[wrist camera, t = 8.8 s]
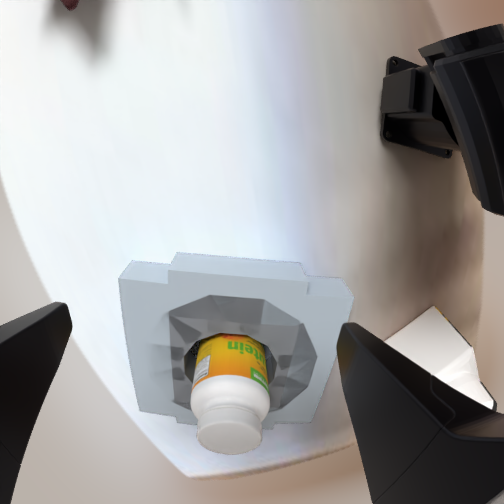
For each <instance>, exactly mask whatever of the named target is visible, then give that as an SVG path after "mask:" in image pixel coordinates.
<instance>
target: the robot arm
mask: <svg viewBox="0 0 504 504" xmlns="http://www.w3.org/2000/svg"><path fill="white" fill-rule="evenodd" d="M418 50H419V52H420V54H421V56H422V58H423V57H424V58H425V60H426V62H427V64H428V65H425V66H419V65H417V64H414V63H412V62H409V61H406V60H404V59H401V58H398V57H395V56H393V57H390V58H389V59H388V60H387V70H386V77H384V78H383V90H382V100H381V111H382V113H383V115H382V123H381V131H380V136H381V138H382V139H383V140H384V141H387V142H391V143H395V144H399V145H403V146H406V147H410V148H413V149H417V150H420V151H424V152H427V153H430V154H433V155H437V156H440V157H443V158H450V157H451V156H452V151H453V150H456V151H461V154H462V157H463V160H464V163H465V166H466V170H467V173H468V177H469V181H470V184H471V188H472V192H473V194H474V195H475V196H476V198H477V199H478V200H479V201H481V205H482V208H484V209H485V210H487V211H490V212H492V213H494V214H496V215H500V216H504V26H503V24H498V25H493V26H489V27H484V28H480V29H477V30H473V31H469V32H466V33H463V34H459V35H456V36H453V37H450V38H447V39H444V40H441V41H438V42H436V43H433V44H430V45H428V46H425V47H422V48H420V49H418ZM392 61H395V63H396V66H395V65H394V64H393V62H392ZM387 131H388V132H389V137H387V136H386V132H387ZM445 150H447V154H445ZM71 331H72V321H71V317H70V313H69V309H68V306H67V304H65V303H61V302H54V303H51V304H49V305H47V306H45V307H43V308H40V309H37V310H35V311H33V312H31V313H28V314H26V315H24V316H21V317H19V318H17V319H15V320H12V321H10V322H8V323H5V324H3V325H1V326H0V504H10V503H11V500H12V496H13V492H14V488H15V484H16V480H17V477H18V473H19V470H20V467H21V465H20V464H21V463H22V460H23V456H24V454H25V450H26V447H27V444H28V441H29V439H30V436H31V433H32V430H33V428H34V425H35V422H36V420H37V417H38V414H39V412H40V409H41V407H42V404H43V402H44V399H45V397H46V395H47V392H48V390H49V388H50V385H51V383H52V381H53V378H54V376H55V374H56V372H57V370H58V367H59V365H60V362H61V359H62V356H63V354H64V350H65V348H66V345H67V342H68V340H69V337H70V334H71ZM336 351H337V357H338V363H339V369H340V375H341V381H342V387H343V392H344V395H345V399H346V403H347V406H348V410H349V413H350V417H351V421H352V424H353V428H354V432H355V435H356V439H357V443H358V446H359V451H360V455H361V458H362V463H363V467H364V471H365V475H366V479H367V483H368V487H369V491H370V495H371V500H372V503H373V504H504V414H501V413H498V412H496V411H494V410H492V409H490V408H488V407H486V406H484V405H482V404H481V403H479V402H477V401H475V400H473V399H472V398H470V397H468V396H466V395H464V394H463V393H461V392H459V391H457V390H456V389H454V388H452V387H451V386H449V385H448V384H446V383H444V382H443V381H441V380H440V379H438V378H437V377H435V376H434V375H431V373H429V372H428V371H427V370H425V369H424V368H422V367H421V366H419V365H418V364H416V363H415V362H413V361H412V360H410V359H409V358H407V357H406V356H404V355H403V354H401V353H400V352H398V351H397V350H395V349H394V348H392V347H391V346H389V345H388V344H386V343H385V342H384V341H382V340H381V339H379V338H378V337H376V336H375V335H373V334H372V333H370V332H369V331H367V330H366V329H364V328H363V327H361V326H360V325H358V324H357V323H354V322H351V323H343V324H342V326H341V329H340V333H339V337H338V340H337V345H336Z"/></svg>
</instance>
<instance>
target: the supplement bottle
mask: <svg viewBox="0 0 504 504" xmlns="http://www.w3.org/2000/svg"><path fill="white" fill-rule="evenodd" d="M190 403H191V409H192V412H193V413H194V415H195V417H196V418H197V419H198V424H197V439H198V441H199V443H200V444H201V445H202V446H203V447H205V448H206V449H208V450H210V451H213V452H216V453H220V454H228V455H235V454H242V453H246V452H249V451H252V450H254V449H255V448H257V447H258V446H259V445H260V443H261V441H262V425H261V422H262V421H263V420H264V419H265V417H266V416H267V414H268V411H269V408H270V396H269V388H268V378H267V369H266V359H265V348H264V344H263V343H261V342H259V341H257V340H255V339H253V338H252V337H250V336H248V335H242V334H229V333H218V334H215V335H212V336H209V337H206V338H204V339H201V340H200V344H199V349H198V355H197V361H196V367H195V373H194V380H193V386H192V392H191V402H190Z"/></svg>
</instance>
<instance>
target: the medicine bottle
mask: <svg viewBox="0 0 504 504" xmlns="http://www.w3.org/2000/svg"><path fill="white" fill-rule="evenodd" d="M384 342H385V343H386V344H388V345H389V346H391V347H392V348H394V349H395V350H397V351H398V352H400V353H401V354H403V355H404V356H406V357H407V358H409V359H410V360H412V361H413V362H415V363H416V364H418V365H419V366H421V367H422V368H424V369H425V370H427V371H428V372H429V373H431V375H434V376H435V377H437V378H438V379H440V380H441V381H443V382H444V383H446V384H448V385H449V386H451V387H452V388H454V389H456V390H457V391H459V392H461V393H463V394H464V395H466V396H468V397H470V398H472V399H473V400H475V401H477V402H479V403H481V404H482V405H484V406H486V407H488V408H490V409H492V410H494V411H496V410H497V403H496V401H495V400H494V398H493V397H492V396H491V394H490V393H489V392H488V390H487V389H486V387H485V386H484V385H483V383H482V382H481V381H480V379H479V375H478V369H477V364H476V359H475V354H474V349H473V347H472V346H471V345H470V344H469V343H468V342H467V340H466V339H465V338H464V337H463V336H462V335H461V334H460V332H459V331H458V330H457V329H456V328H455V327H454V326H453V325H452V324H451V323H450V321H449V320H448V319H447V318H446V317H445V316H444V315H443V314H442V313H441V312H440V311H439V310H438V309H437V308H436V306H432V307H430V308H429V309H428V310H427V311H425V312H424V313H423V314H421V315H420V316H419V317H417V318H416V319H415V320H413V321H412V322H411V323H409V324H408V325H407V326H405V327H404V328H402V329H401V330H400V331H398V332H397V333H396V334H394V335H393V336H391V337H390V338H388V339H387V340H385V341H384Z"/></svg>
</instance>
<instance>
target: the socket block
mask: <svg viewBox="0 0 504 504" xmlns="http://www.w3.org/2000/svg"><path fill="white" fill-rule="evenodd" d="M118 281H119V291H120V300H121V309H122V317H123V324H124V332H125V338H126V345H127V351H128V357H129V362H130V368H131V373H132V378H133V383H134V388H135V393H136V397H137V402H138V406H139V410H140V411H142V412H147V413H153V414H159V415H166V416H173V417H176V420H177V423H182V424H190V425H197V424H198V419H197V418H196V417H195V415H194V413H193V412H192V409H191V403H190V402H191V392H192V386H193V380H194V373H195V367H196V361H197V360H196V358H195V357H194V356H193V354H192V353H191V352H190V350H189V349H190V348H191V347H192V346H193V345H194V343H195V342H196V341H198V340H201V339H204V338H206V337H209V336H212V335H215V334H218V333H229V334H242V335H248V336H250V337H252V338H253V339H255V340H257V341H259V342H261V343H263V344H264V345H266V346H268V347H269V349H270V351H271V356H270V357H269V358H268V359H267V360H266V369H267V378H268V388H269V396H270V408H269V411H268V414H267V416H266V417H265V419H264V420H263V421H262V422H261V425H262V429H273V426H274V424H286V423H311V421H312V418H313V416H314V414H315V411H316V409H317V406H318V404H319V401H320V399H321V396H322V393H323V391H324V388H325V385H326V383H327V380H328V377H329V375H330V372H331V369H332V366H333V363H334V361H335V358H336V355H337V351H336V345H337V340H338V337H339V333H340V329H341V326H342V324H343V323H347V321H348V318H349V314H350V311H351V308H352V304H353V301H354V296H353V295H352V293H351V291H350V290H349V288H348V287H347V285H346V284H345V282H344V281H343V279H342V278H330V277H316V276H306V274H305V272H304V269H303V267H302V265H301V263H296V262H284V261H272V260H260V259H249V258H237V257H225V256H214V255H203V254H191V253H180V252H177V253H176V255H175V257H174V259H173V261H172V263H171V264H162V263H152V262H142V261H131V262H130V264H129V265H128V266H127V267H126V269H125V270H124V271H123V273H122V274H121V275H120V277H119V278H118Z"/></svg>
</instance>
